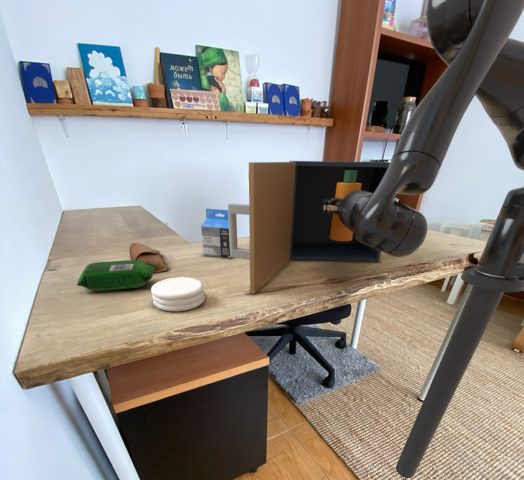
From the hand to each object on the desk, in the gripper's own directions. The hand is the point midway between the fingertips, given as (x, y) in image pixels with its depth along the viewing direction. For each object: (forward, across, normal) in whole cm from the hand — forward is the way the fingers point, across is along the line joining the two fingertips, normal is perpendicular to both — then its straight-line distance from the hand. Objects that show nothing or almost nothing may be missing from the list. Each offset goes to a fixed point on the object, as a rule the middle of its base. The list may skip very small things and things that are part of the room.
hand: (343, 203), depth 73 cm
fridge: (+12, 0, +15) cm, 19 cm away
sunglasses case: (-2, +51, +16) cm, 54 cm away
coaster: (-27, +36, +16) cm, 48 cm away
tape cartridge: (+7, +33, +16) cm, 37 cm away
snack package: (-19, +51, +16) cm, 57 cm away
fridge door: (-9, +20, +15) cm, 27 cm away
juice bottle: (-2, 0, +8) cm, 8 cm away
